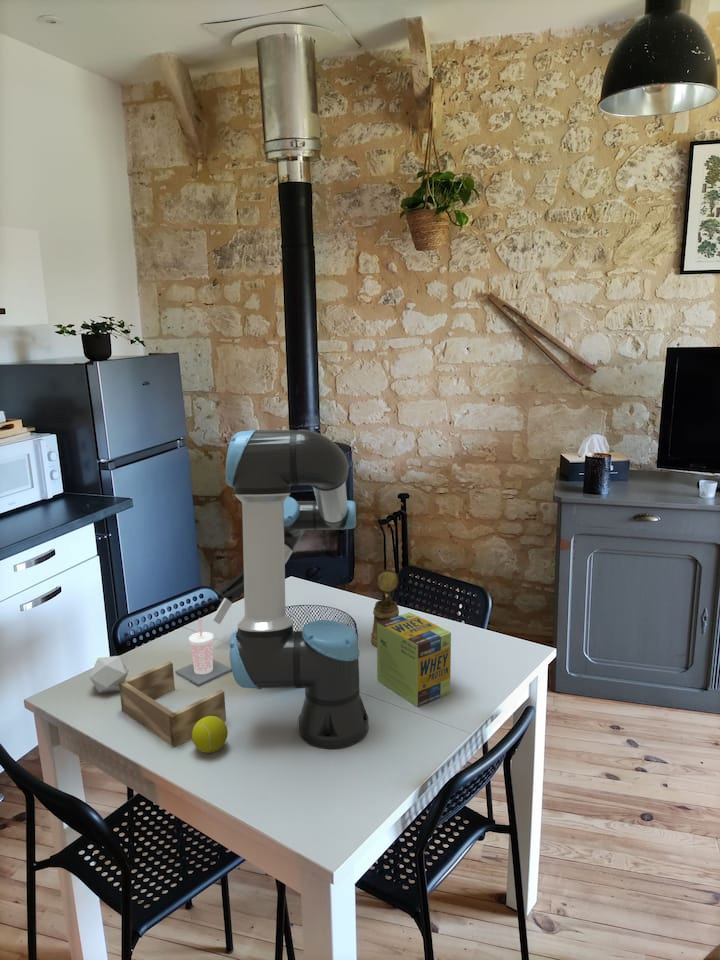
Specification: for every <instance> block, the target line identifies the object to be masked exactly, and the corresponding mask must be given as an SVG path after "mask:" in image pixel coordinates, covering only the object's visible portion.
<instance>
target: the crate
mask: <svg viewBox="0 0 720 960" xmlns="http://www.w3.org/2000/svg"><path fill="white" fill-rule="evenodd" d="M175 686H176V685H175V675H174V663H173V662H172V661H168V662H165V663H163V664H161V665H158V666H156V667H153V668H151V669H149V670H146V671H144V672H141V673H139V674H137V675H135V676H132V677H130V678H128V679H127V678H126V679H125V681H122V682H120V683H119V688H120V691H119V695H120V705H121V711H122V712H123V713H124V714H126V715H128V717H130V718H132V719H133V720H135V722H137V723H139V724H140V725H142V726H143V727H144V728H146V729H147V730H149V731H150V732H152V733H154V734H155V735H156V736H157V737H159V738H161V739H162V740H164V741H165V742H166V743H168V744H169V745H170V746H172V747H174V748H176V747H178V746H180V745H182V744H184V743H186V742H188V741H189V740H192V731H193V728H194V726H195V724H196V723H197V722H198V721H199V720H200V719H202V718H204V717H207V716H216V717H218V718H220V719H221V720H222V721H223V722H224V723H225V722H226V721H227V714H226V713H227V711H226V698H225V691H223V690H222V689H220V690H218V691H216V692H213V693H212V694H209V695H207V696H205V697H203V698H202V699H199V700H197V701H195V702H193V703H191V704H189V705H187V706H185V707H183V708H180V709H179V710H178V709H177V711H175V712H174V711H172V710H170V709H169V708H167V707H166V706H164V705H162V704H161V703H160V702H158V701H156V700H155V699H157V698H160V697H162V696H164V695H167V694H168V693H171V692H173V691H175V690H176V687H175Z"/></svg>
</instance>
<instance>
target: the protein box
mask: <svg viewBox="0 0 720 960" xmlns="http://www.w3.org/2000/svg"><path fill="white" fill-rule="evenodd" d="M451 647H452V632H451V631H449V630H447V629H445V628H443V627H441V626H439V625H436V624H435V623H433V622H431V621H429V620H426V619H424V618H422V617H421V616H418V615H416V614H414V613H412V612H407V613H404V614H401V615H399V616H397V617H394V618H391V619H387V620H384V621H381V622H378V623H377V647H376V650H377V651H376V654H377V655H376V656H377V660H376V663H377V665H376V666H377V667H376V668H377V673H376V674H377V675H376V676H377V679H376V680H377V682H379V683H380V684H382V685H384V686H385V687H387V688H388V689H390V690H392V692H394V693H396V694H397V695H398V696H400V697H402V698H403V699H405V700H406V701H408V702H410V703H411V704H412V705H414V706H416V707H417V708H418V707H420V706H422V705H423V706H424V704H427V703H430V702H432V701H434V700H436V699H439V698H441V697H444V696H446V695H448V694H451V670H452V669H451V668H452V667H451V664H452V661H451V658H452V657H451V656H452V655H451V654H452V652H451V649H452V648H451Z"/></svg>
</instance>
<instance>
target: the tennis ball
mask: <svg viewBox="0 0 720 960" xmlns="http://www.w3.org/2000/svg"><path fill="white" fill-rule="evenodd" d="M228 734H229V733H228V726H227V725H226V723H225V721H224V722H223V721H222V720H221V719H220V718H218V717H216V716H207V717H204V718H202V719H200V720H199V721H198V722H197V723H196V724H195V726H194V728H193V731H192V739H191V740H192V742H193V745H194V747H195V748H197V750H198V751H200V752H202V753H206V754H207V753H208V754H212V753H216V752H217V751H219V750H220V749H221V748H222V747H223V746H224V745H225V743H226V741H227V739H228Z"/></svg>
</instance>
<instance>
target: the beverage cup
mask: <svg viewBox="0 0 720 960" xmlns="http://www.w3.org/2000/svg"><path fill="white" fill-rule="evenodd" d="M198 626H199V631H198V632H195V633H193V634H190V636H189V637H188V642H189V644H190V650H191V657H192V664H193V665H194V672H195V673H197V674H207V673H210V672H211V671H212V670H213V659H214V657H213V656H214V653H213V652H214V650H213V649H214V647H213V646H214V643H213V642H214V637H215V636H214V634H213V633H212V632H209V631H203V630H202V619H201V617H199V618H198Z"/></svg>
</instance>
